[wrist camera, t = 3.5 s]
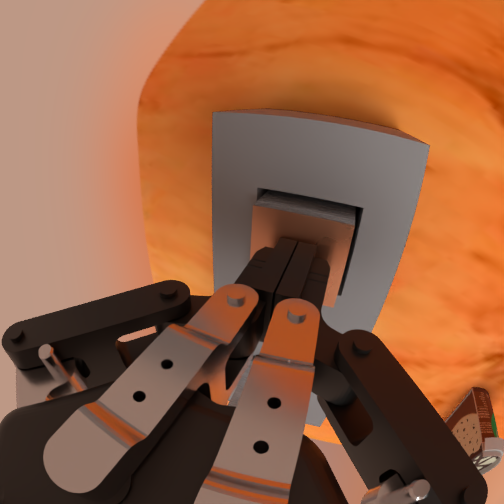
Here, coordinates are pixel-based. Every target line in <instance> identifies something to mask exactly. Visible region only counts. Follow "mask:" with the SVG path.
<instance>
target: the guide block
mask: <svg viewBox="0 0 504 504" xmlns="http://www.w3.org/2000/svg"><path fill="white" fill-rule="evenodd" d="M429 147H430V145H428V144H426V143H424V142H422V141H420V140H418V139H417V138H415V137H413V136H411V135H409V134H406V133H404V132H402V131H400V130H397V129H393V128H389V127H385V126H380V125H376V124H371V123H367V122H362V121H357V120H351V119H346V118H340V117H334V116H328V115H321V114H314V113H307V112H298V111H289V110H279V109H246V110H231V111H219V112H213V122H212V233H213V270H214V293H215V292H216V291H217V290H218V289H219V288H221V287H223V286H225V285H228V284H234V283H235V281H236V280H237V278H238V277H239V276H240V274H241V273H242V271H243V270H244V268H245V267H246V266H247V264H248V263H249V261H250V250H251V231H252V212H253V205H254V204H255V203H256V202H257V201H258V200H259V199H260V198H261V197H262V196H263V195H264V194H265V193H266V192H267V191H268V190H269V189H270V190H276V191H282V192H287V193H293V194H299V195H304V196H309V197H314V198H319V199H324V200H329V201H334V202H339V203H344V204H348V205H353V206H356V211H355V228H354V232H353V236H352V241H351V245H350V249H349V253H348V257H347V261H346V265H345V269H344V272H343V276H342V280H341V283H340V287H339V290H338V294H337V297H336V301H335V304H334V308H332V307H328V306H324V305H322V309H321V314H322V318H323V320H324V321H325V322H326V324H327V325H328V326H330V327H331V328H332V329H334V330H336V331H338V332H340V333H342V334H344V333H345V332H347V331H349V330H354V329H361V330H365V331H368V332H372V329H373V327H374V325H375V323H376V320H377V318H378V316H379V314H380V311H381V309H382V306H383V304H384V302H385V299H386V297H387V294H388V292H389V289H390V286H391V284H392V281H393V278H394V276H395V273H396V270H397V267H398V265H399V262H400V259H401V256H402V253H403V250H404V247H405V244H406V241H407V237H408V234H409V231H410V227H411V224H412V221H413V217H414V213H415V210H416V206H417V202H418V198H419V194H420V190H421V186H422V182H423V177H424V173H425V168H426V163H427V158H428V152H429ZM262 345H263V342H260V341H259V343H258V345H257V347H256V349H255V351H254V355H255V356H256V355H257V354H258V355H259V353H260V351H261V348H262ZM242 376H243V375H242ZM241 378H242V377H241ZM240 380H241V379H240ZM240 380H239V382H240ZM239 382H238V384H239ZM238 384H237V385H236V387H235V389H234V390H233V392H232V393H231V395H230V397H229V399H228V401H230V400H231V398H232V396H233V394H234V392H235V390H236V388H237V386H238ZM325 418H326V415H325V413H324V412H323V410H322V408H321V406H320V405H319V403H318V400H317V395H316V394H314V393H313V392H311V396H310V401H309V407H308V412H307V417H306V422H305V424H310V425H314V426H318V427H320V426H321V424H322V422H323V421H324V419H325Z"/></svg>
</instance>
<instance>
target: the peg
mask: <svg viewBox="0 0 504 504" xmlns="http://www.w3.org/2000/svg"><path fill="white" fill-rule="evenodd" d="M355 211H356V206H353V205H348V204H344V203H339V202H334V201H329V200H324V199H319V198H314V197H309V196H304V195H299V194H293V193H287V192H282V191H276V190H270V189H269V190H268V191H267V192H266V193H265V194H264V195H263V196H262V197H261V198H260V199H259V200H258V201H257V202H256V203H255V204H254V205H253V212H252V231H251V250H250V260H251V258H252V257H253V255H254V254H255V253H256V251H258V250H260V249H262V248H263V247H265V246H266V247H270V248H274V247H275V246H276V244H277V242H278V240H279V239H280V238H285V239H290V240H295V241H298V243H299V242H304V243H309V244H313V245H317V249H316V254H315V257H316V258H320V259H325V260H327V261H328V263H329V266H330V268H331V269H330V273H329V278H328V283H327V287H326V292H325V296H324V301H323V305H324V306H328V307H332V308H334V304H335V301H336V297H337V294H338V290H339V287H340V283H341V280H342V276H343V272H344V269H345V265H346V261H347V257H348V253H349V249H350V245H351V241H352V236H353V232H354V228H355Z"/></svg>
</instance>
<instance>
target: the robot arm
mask: <svg viewBox="0 0 504 504" xmlns="http://www.w3.org/2000/svg"><path fill="white" fill-rule="evenodd" d="M316 249H317V245H313V244H309V243H304V242H299V243H298V241H295V240H290V239H285V238H280V239H279V240H278V242H277V244H276V246H275V247H274V248H270V247H266V246H265V247H263V248H262V249H260V250H258V251H256V253H255V254H254V255H253V257H252V258H251V260H250V261H249V263H248V264H247V266H246V267H245V268H244V270H243V271H242V273H241V274H240V276H239V277H238V278H237V280H236V281H235V283H234V284H228V285H225V286H223V287H221V288H219V289H218V290H217V291H216V292H215V293H214V294H213V295H212V296H194V295H190V290H189V287H188V286H187V285H186V284H185V283H183V282H180V281H176V280H166V281H162V282H158V283H155V284H151V285H148V286H144V287H141V288H137V289H134V290H130V291H127V292H124V293H120V294H116V295H113V296H109V297H106V298H102V299H99V300H95V301H91V302H88V303H85V304H81V305H78V306H74V307H70V308H67V309H63V310H60V311H56V312H53V313H49V314H45V315H42V316H39V317H35V318H32V319H28V320H24V321H20V322H17V323H15V324H13V325H12V326H10V327H9V328H8V329H7V330H6V332H5V333H4V335H3V338H2V346H3V348H4V350H5V351H6V353H7V354H8V355H9V357H10V358H11V360H12V361H13V363H14V365H15V367H16V398H17V409H15V410H13V411H12V412H10V413H9V414H7V415H6V416H5V417H4V419H3V420H2V422H1V423H0V504H348V502H347V500H346V498H345V496H344V494H343V492H342V490H341V488H340V486H339V484H338V482H337V480H336V478H335V476H334V474H333V472H332V470H331V468H330V466H329V464H328V462H327V460H326V458H325V456H324V454H323V453H322V452H321V450H320V449H319V448H318V447H317V445H316V444H315V443H314V442H313V441H311V440H310V439H309V438H308V437H307V436H305V435H304V434H303V432H304V427H305V422H306V417H307V412H308V407H309V401H310V396H311V392H313V393H314V394H316V395H317V400H318V403H319V405H320V406H321V408H322V410H323V412H324V413H325V415H326V417H327V419H328V420H329V422H330V424H331V426H332V427H333V429H334V431H335V433H336V435H337V436H338V438H339V440H340V441H341V443H342V445H343V447H344V448H345V450H346V452H347V453H348V455H349V457H350V459H351V461H352V462H353V464H354V466H355V467H356V469H357V471H358V472H359V474H360V476H361V478H362V479H363V481H364V483H365V485H366V486H367V488H368V489H369V490H368V492H367V493H366V494H365V495H364V497H363V498H362V501H361V504H485V502H486V499H487V494H488V488H487V484H486V481H485V479H484V478H483V476H482V475H481V473H480V472H479V470H478V469H477V467H476V466H475V464H474V463H473V461H472V460H471V458H470V457H469V456H468V454H467V453H466V451H465V450H464V448H463V447H462V446H461V444H460V443H459V441H458V440H457V439H456V437H455V436H454V434H453V433H452V432H451V430H450V429H449V427H448V426H447V425H446V423H445V422H444V421H443V419H442V418H441V417H440V415H439V414H438V413H437V411H436V410H435V409H434V407H433V406H432V405H431V403H430V402H429V401H428V399H427V398H426V397H425V395H424V394H423V393H422V392H421V390H420V389H419V388H418V386H417V385H416V384H415V383H414V381H413V380H412V379H411V377H410V376H409V375H408V374H407V372H406V371H405V370H404V369H403V367H402V366H401V365H400V364H399V362H398V361H397V360H396V359H395V357H394V356H393V355H392V354H391V352H390V351H389V350H388V349H387V347H386V346H385V345H384V344H383V343H382V341H381V340H380V339H379V338H378V337H377V336H376V335H374V334H373V333H371V332H368V331H365V330H361V329H354V330H349V331H347V332H345V333H344V334H342V333H340V332H338V331H336V330H334V329H332V328H331V327H330V326H328V325H327V324H326V322H325V321H324V320H323V318H322V314H321V309H322V305H323V301H324V296H325V292H326V287H327V283H328V278H329V273H330V269H331V268H330V266H329V263H328V261H327V260H325V259H320V258H316V257H315V254H316ZM152 326H155V328H156V331H157V332H156V333H153V334H150V335H147V336H144V337H140V338H137V339H134V340H131V341H128V342H120V341H118V340H117V339H118V338H119V337H121V336H123V335H126V334H130V333H133V332H136V331H140V330H142V329H146V328H149V327H152ZM259 341H260V342H263V345H262V348H261V351H260V353H259V355H258V354H257V355H256V356H255V358H254V360H253V363H252V366H251V369H250V371H249V374H248V377H247V380H246V382H245V385H244V388H243V390H242V393H241V396H240V398H239V401H238V404H237V406H236V407H235V406H227V402H228V399H229V397H230V395H231V393H232V392H233V390H234V389H235V387H236V385H237V384H238V382H239V380H240V379H241V377H242V375H243V374H244V372H245V370H246V369H247V367H248V365H249V364H250V362H251V360H252V359H253V356H254V351H255V349H256V347H257V345H258V343H259Z"/></svg>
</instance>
